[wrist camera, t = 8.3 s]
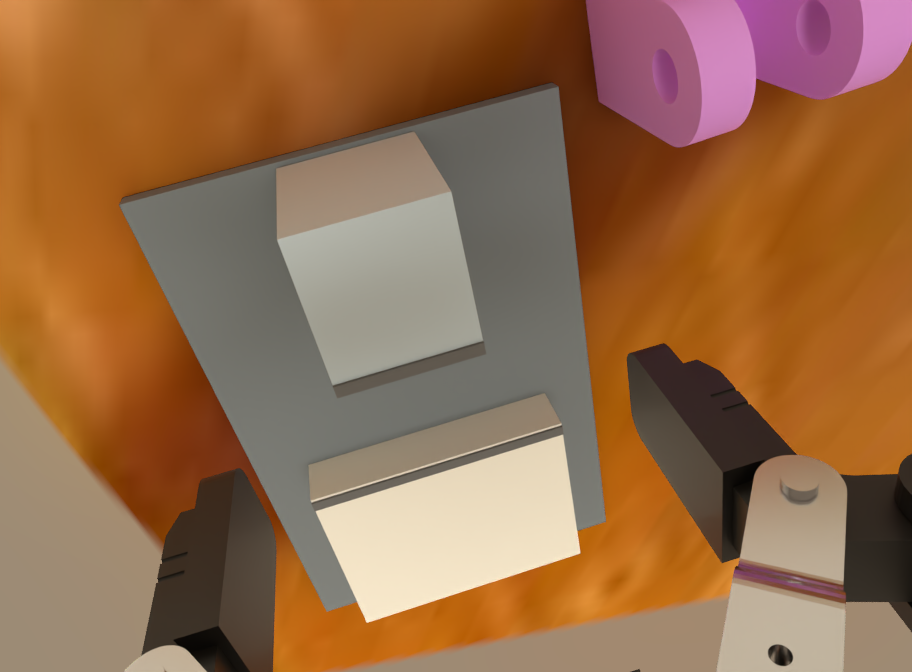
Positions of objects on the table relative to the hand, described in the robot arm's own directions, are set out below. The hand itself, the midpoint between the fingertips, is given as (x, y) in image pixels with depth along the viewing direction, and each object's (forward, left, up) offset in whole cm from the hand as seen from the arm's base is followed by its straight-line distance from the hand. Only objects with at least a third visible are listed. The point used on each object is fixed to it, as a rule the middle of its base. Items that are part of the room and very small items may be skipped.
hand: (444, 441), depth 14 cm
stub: (0, 0, -12) cm, 12 cm away
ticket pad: (0, +7, -12) cm, 14 cm away
